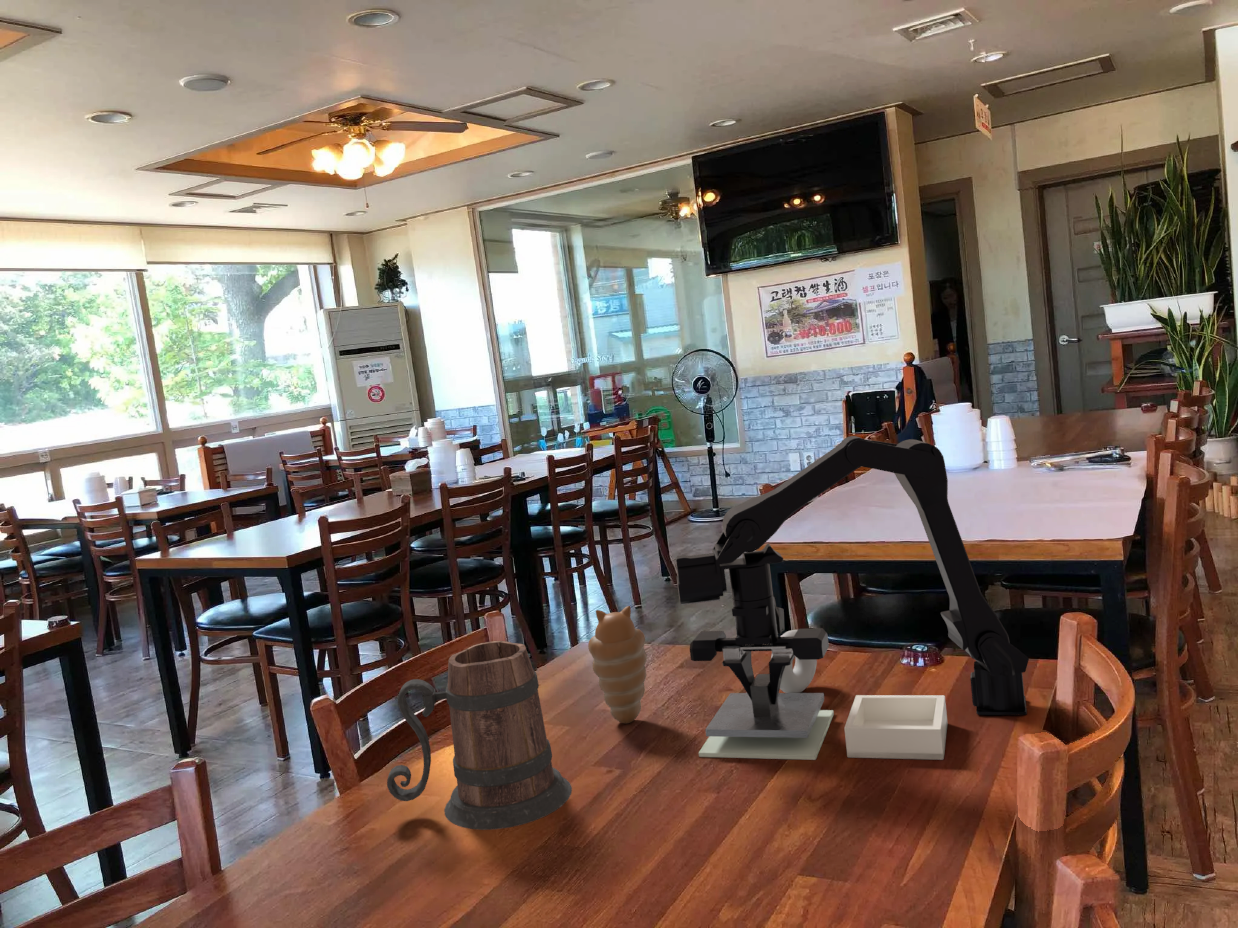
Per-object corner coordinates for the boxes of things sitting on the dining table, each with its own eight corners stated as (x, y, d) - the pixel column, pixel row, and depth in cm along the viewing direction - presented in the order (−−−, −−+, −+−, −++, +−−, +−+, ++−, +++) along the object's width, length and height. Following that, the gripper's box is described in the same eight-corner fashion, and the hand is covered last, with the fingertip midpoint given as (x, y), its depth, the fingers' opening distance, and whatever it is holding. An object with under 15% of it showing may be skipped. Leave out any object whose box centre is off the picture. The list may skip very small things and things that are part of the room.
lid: (824, 699, 144) (820, 662, 143) (807, 737, 131) (803, 697, 130) (731, 699, 149) (726, 664, 148) (706, 736, 136) (701, 697, 135)
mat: (833, 714, 145) (833, 710, 145) (815, 759, 130) (815, 755, 130) (727, 713, 151) (727, 709, 151) (699, 756, 136) (698, 752, 136)
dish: (947, 723, 136) (944, 695, 136) (943, 759, 125) (940, 729, 125) (858, 722, 141) (856, 695, 140) (847, 757, 129) (844, 727, 129)
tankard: (568, 763, 140) (549, 625, 137) (576, 815, 123) (554, 660, 121) (400, 791, 137) (378, 651, 135) (385, 848, 121) (360, 690, 118)
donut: (787, 704, 151) (780, 641, 150) (769, 701, 153) (762, 638, 152) (824, 683, 158) (817, 623, 157) (806, 680, 160) (799, 621, 159)
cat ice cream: (653, 709, 156) (639, 598, 154) (657, 727, 148) (642, 610, 147) (598, 716, 156) (583, 606, 154) (598, 735, 148) (583, 618, 147)
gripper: (828, 578, 142) (840, 683, 144) (704, 584, 149) (716, 683, 151) (815, 599, 132) (828, 711, 134) (682, 604, 139) (696, 711, 140)
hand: (765, 703), depth 140 cm, fingers closed on lid, 2 cm apart
